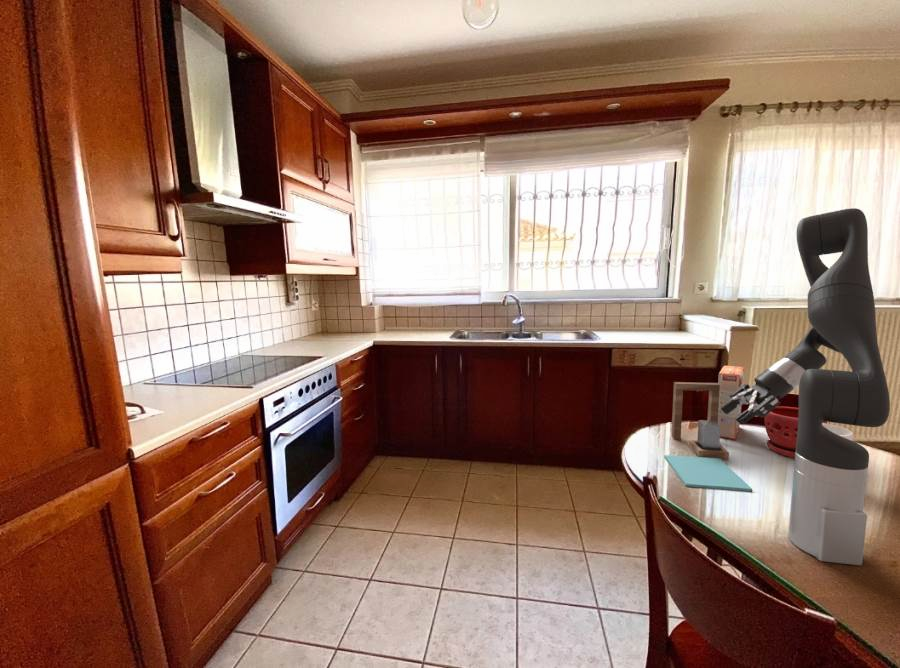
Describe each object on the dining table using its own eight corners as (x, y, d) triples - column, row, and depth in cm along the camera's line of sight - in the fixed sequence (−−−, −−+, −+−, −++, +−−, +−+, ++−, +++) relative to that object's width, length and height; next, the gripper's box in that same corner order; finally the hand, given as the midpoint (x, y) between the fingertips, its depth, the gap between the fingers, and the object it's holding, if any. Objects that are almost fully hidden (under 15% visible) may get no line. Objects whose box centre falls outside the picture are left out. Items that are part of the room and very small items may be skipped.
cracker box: (737, 440, 117) (741, 374, 114) (713, 436, 121) (717, 372, 118) (741, 427, 127) (745, 366, 124) (719, 423, 131) (722, 364, 128)
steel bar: (718, 456, 107) (720, 425, 106) (702, 455, 108) (704, 424, 107) (712, 450, 111) (713, 420, 110) (697, 449, 112) (698, 420, 111)
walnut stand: (737, 459, 104) (742, 396, 102) (689, 456, 107) (692, 395, 105) (713, 438, 119) (716, 383, 116) (671, 436, 121) (673, 382, 119)
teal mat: (751, 491, 89) (752, 488, 89) (685, 486, 92) (685, 483, 92) (719, 460, 104) (719, 458, 104) (664, 457, 107) (664, 455, 107)
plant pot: (829, 453, 106) (833, 412, 105) (816, 467, 99) (820, 423, 98) (770, 439, 117) (773, 401, 116) (755, 450, 110) (757, 410, 108)
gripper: (755, 363, 110) (709, 399, 114) (787, 374, 96) (733, 415, 100) (775, 381, 109) (728, 417, 113) (810, 395, 96) (754, 436, 100)
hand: (730, 416), depth 107 cm, fingers open, 8 cm apart
